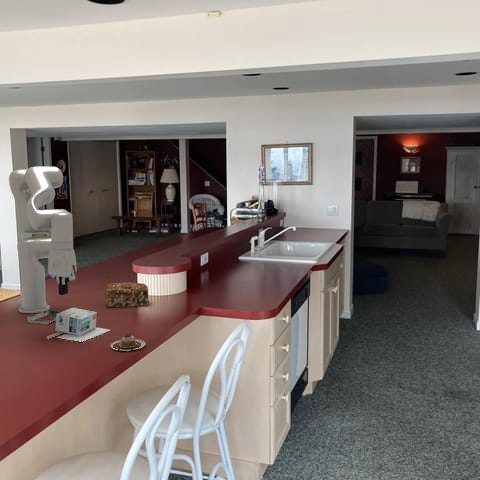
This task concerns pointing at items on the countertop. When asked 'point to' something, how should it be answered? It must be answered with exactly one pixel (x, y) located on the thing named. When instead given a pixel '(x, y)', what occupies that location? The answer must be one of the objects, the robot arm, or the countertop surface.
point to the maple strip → (54, 334)
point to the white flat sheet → (85, 335)
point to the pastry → (128, 342)
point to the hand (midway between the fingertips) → (63, 293)
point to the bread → (126, 294)
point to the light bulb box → (75, 321)
